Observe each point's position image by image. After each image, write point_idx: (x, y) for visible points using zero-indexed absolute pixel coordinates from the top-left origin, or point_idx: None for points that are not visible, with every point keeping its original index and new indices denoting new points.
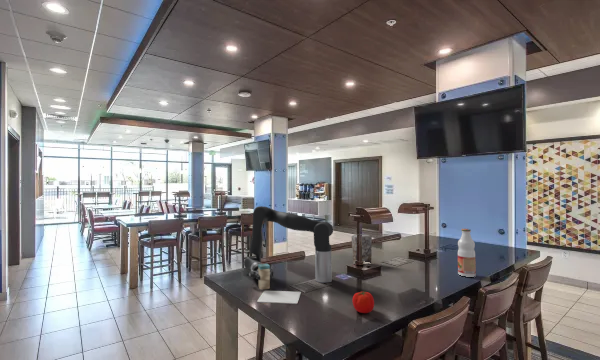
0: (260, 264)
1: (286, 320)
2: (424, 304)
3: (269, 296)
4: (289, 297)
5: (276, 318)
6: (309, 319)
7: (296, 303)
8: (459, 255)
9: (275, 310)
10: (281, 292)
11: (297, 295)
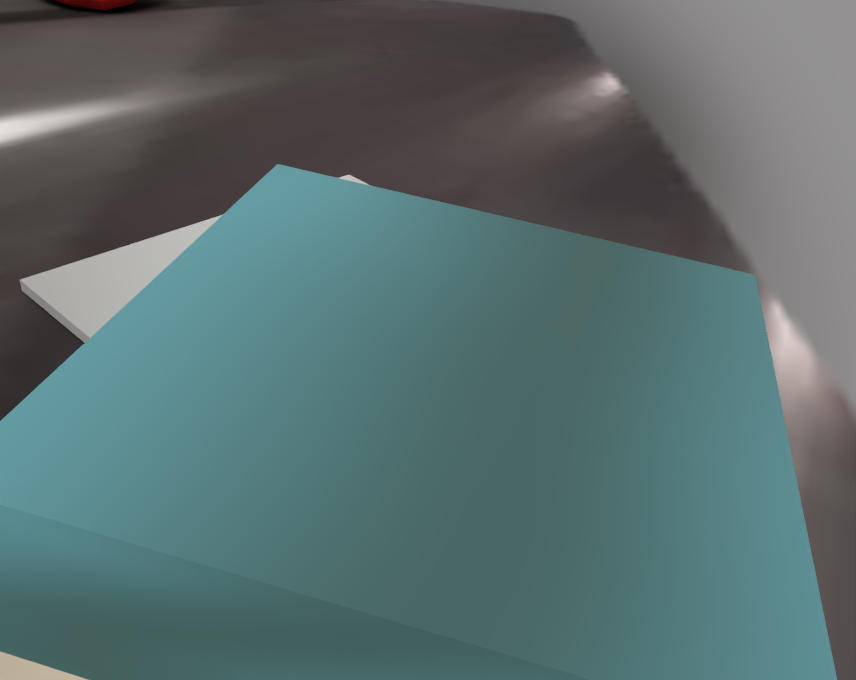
0: (636, 633)
1: (587, 126)
2: None
3: None
4: None
5: (642, 158)
6: (447, 83)
7: (354, 181)
8: None
9: (600, 209)
10: None
11: (178, 248)
